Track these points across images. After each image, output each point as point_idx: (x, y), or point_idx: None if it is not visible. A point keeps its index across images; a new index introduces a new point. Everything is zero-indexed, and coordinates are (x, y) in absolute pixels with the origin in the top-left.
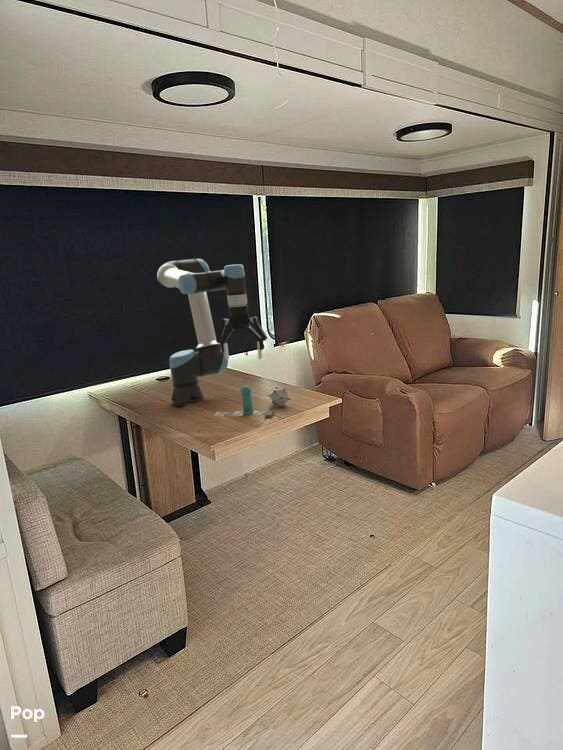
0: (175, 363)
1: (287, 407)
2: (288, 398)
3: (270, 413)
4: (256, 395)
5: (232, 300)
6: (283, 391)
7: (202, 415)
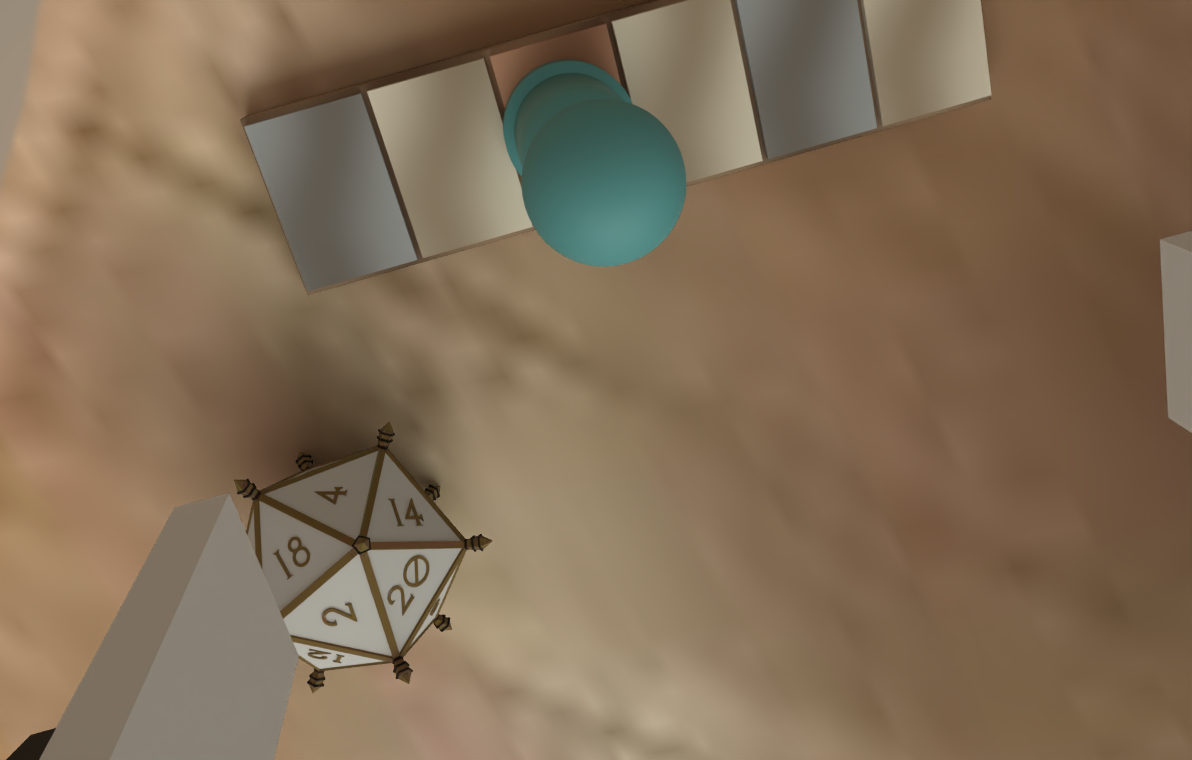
0: None
1: None
2: None
3: (273, 168)
4: (805, 752)
5: None
6: None
7: (1157, 42)
